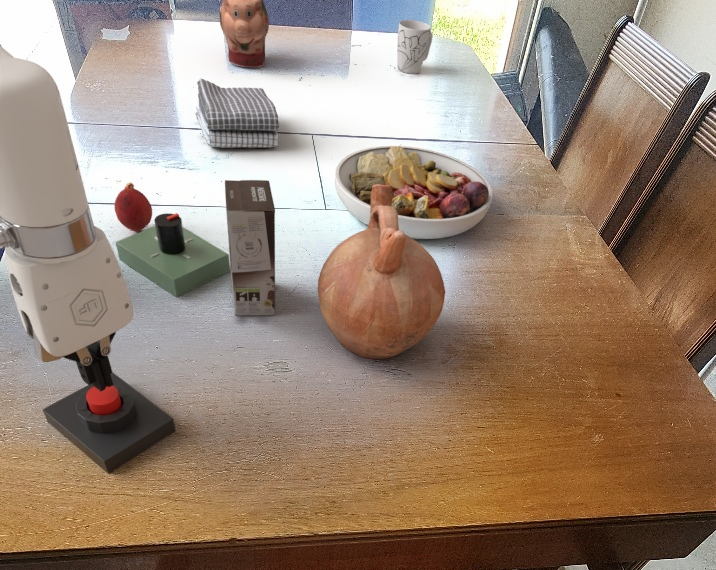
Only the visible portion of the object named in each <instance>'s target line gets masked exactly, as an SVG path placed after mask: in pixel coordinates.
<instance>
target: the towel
mask: <svg viewBox="0 0 716 570" xmlns="http://www.w3.org/2000/svg"><path fill="white" fill-rule="evenodd" d="M196 84H197V90H198V93H197V97H198V104H197V105H196V106H195V108H196V111H195V116H196V120H197V122H198V124H199V127H200V131H201V133H202V134H203V137H204V140H205V141H206V143H207V146H209V147H213V148H221V149H222V148H223V149H224V148H226V149H227V148H229V149H230V148H232V149H234V148H236V149H237V148H247V149H248V148H249V149H251V148H253V149H255V148H257V149H258V148H259V149H261V148H263V149H266V148H268V149H269V148H276V147H277V148H278V147H279V134H278V131H279V128H280V123H279V115H278V112H277V108H276V105H275V104H274V103H273V101H272V100H271V99H270V98H269V97H268V96H267V94H266V92H265V90H264V88H262V87H227V88H225V87H220V86H219V85H217V84H215V82H211V81H210V80H207V79H206V80H205V79H204V78H199V80H198V81H197V83H196Z"/></svg>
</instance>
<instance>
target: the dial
mask: <svg viewBox="0 0 716 570" xmlns="http://www.w3.org/2000/svg"><path fill="white" fill-rule="evenodd" d="M154 226H155V227H156V233H157V238H158V244H159V249H160V251H161V252H163V253H166V254H179V253H181V252H183V251H184V250H185V241H184V234H183V221H182V217H180V214H179V213H177V212H175V213H168V212H167V213H161V214H158V215H157V216H155V218H154Z"/></svg>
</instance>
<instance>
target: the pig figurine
mask: <svg viewBox="0 0 716 570" xmlns="http://www.w3.org/2000/svg"><path fill="white" fill-rule="evenodd" d="M221 2H222V3H221V7H220V10H219V25H220V29H221V31H222V32H223V35H224V36H225V40H226V44H227V48H228V49H227V50H228V53H227V57H228V62H229V63H231V64H233V65H234V66H238V67H244V68H262V67H263V66H264V65H265V62H266V36H267V35H268V33H269V29H270V19H269V13H268V11H267V8H266V4H265V2H264V0H222V1H221Z"/></svg>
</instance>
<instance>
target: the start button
mask: <svg viewBox="0 0 716 570" xmlns="http://www.w3.org/2000/svg"><path fill="white" fill-rule="evenodd" d="M86 398H87V401H88V404H89V407H90V410H91V411H92V412H93V413H94V414H96V415H101V416H103V415H109V414H113V413H115V412H116V411H118V410H119V409H120V407H121V400H120V396H119V393H118V390H117V389H116V388H115V387H114V386H110V387H106V388H105V390H103V391H99V390H98V389H97V388H96V387H92V388H91V389H90V390H89V391H88V392H87V394H86Z"/></svg>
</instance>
